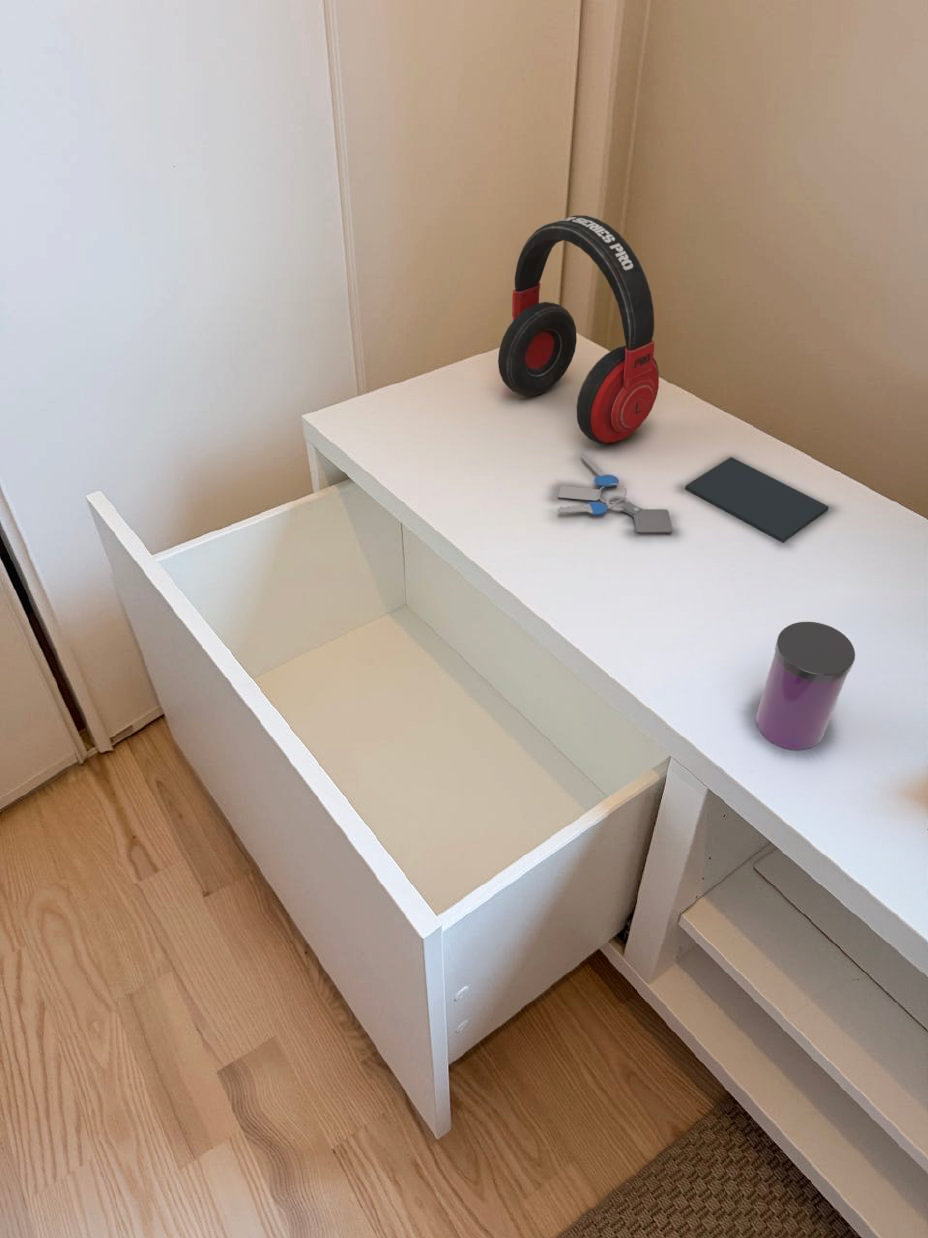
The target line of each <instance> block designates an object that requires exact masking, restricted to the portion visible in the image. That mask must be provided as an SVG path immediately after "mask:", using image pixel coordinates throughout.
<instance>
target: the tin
mask: <svg viewBox="0 0 928 1238" xmlns="http://www.w3.org/2000/svg"><path fill="white" fill-rule="evenodd" d="M855 659H856V651H855V648H854V645H853V644H852V642H851V640H850V639H849V637H847V636H846V635H845V634H844V633H843V632H841V631H840V630H838V629H836V628H835V627H832V626H830V625H827V624H825V623H821V622H816V621H799V622H795V623H792V624H789V625H787V626H786V627H784V628H783V629H782V630H781V631H780V633H779V634H778V636H777V638H776V641H775V646H774V655H773V657H772V661H771V665H770V667H769V671H768V675H767V677H766V681H765V685H764V688H763V691H762V695H761V698H760V701H759V705H758V708H757V711H756V715H755V719H756V720H755V722H756V726H757V728H758V730H759V732H760V733H761V735H762V736H763V737H765V739H766V740H768V741H769V742H771V743H772V744H774V745H776V746H778V747H780V748H783V749H787V750H792V751H802V750H808V749H811V748H813V747H815V746H817V745H819V743H820V742H821V741H822V740H823V738H824V735H825V733H826V730H827V728H828V725H829V723H830V720H831V718H832V715H833V713H834V709H835V707H836V704H837V702H838V699H839V696H840V694H841V691H842V689H843V686H844V684H845V681H846V678H847V676H848V674H849V673H850V672H851V670H852V668H853V665H854V662H855Z"/></svg>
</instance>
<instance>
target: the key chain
mask: <svg viewBox="0 0 928 1238" xmlns="http://www.w3.org/2000/svg"><path fill="white" fill-rule="evenodd" d="M579 456H580V457H581V458H582V459H583V460H584V462H585V463H586V464H587V465H588V466H589V467H590V468H591V470H592V471H593V472H595V473H596V475H597V476H595V477H594V479H593V482H594V483H595V484H596V485H597V486H601V487H600V488H599V489H598V488H590V487H589V488H587V487H578V486H577V487H575V486H566V485H561V486H560V488H559V492H558V495H557V498H562V499H573V500H582V501H589V502H586V503H587V504H581V505H572V506H570V505H568V506H565V507H564V506H560V507H558V508H557V512H558V513H559V514H568V513H589V514H591V515H595V516H599V515H604V514H605V513H606V512H608V510H611V511H613V512H624V513H626V514H629V515H630V516H631V517H633V522H634V526H635V527H634V528H635V531H636V532H637V533H672V532H673V530H674V529H673V525H672V519H671V516H670V511H669V510H668V509H666V508H654V509H653V508H650V509H649V508H646V509H645V508H642V507H639V506H636V504H634V503H632V502H631V501H630V500H629V499H628V498H627V497H626V496H627V495H628V491H627V488H626V487H625V486H624V485H622V484H620V483H619V482H620V480H619V478H618V477H617V476H615V475H614V474H605V473H604V472H603V470H601V468H599V467H598V466H597V464H596V463H595V462H593V461H592V459H590V458H589V457H588V456H587V455H586V454H585V453H580V454H579ZM614 486H620V487H621V488H623V490H624V495H619V494H614V495H611V496H608V498H606V500H604V499H603V498H602V497H601V495H602V489H604V488H605V487H606V488H607V487H608V488H609V487H614ZM599 500H600V501H601V502H600V501H599ZM613 500H616V501H613ZM621 501H624V503H623V504H622V505H621V506H619V507H616V503H620V502H621Z"/></svg>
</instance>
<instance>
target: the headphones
mask: <svg viewBox="0 0 928 1238" xmlns="http://www.w3.org/2000/svg"><path fill="white" fill-rule="evenodd" d="M561 242H568V243H571V244H572V245H574V246H575V247H578V248H579V249H580V250H582V251H583V253H585V254H586V255H588V256H589V258H590V259H591V260H592V261H593V263H594V264H596V266H597V267H598V269H599V270H600V272H601V273H602V274H603V276H604V277H605V279H606V281H607V284H608V285H609V287H610V289H611V291H612V293H613V295H614V297H615V300H616V302H617V306H618V310H619V315H620V318H621V325H622V331H623V335H624V342H625V345H622V346H619V347H616V348H614V349H613V350H610V351H609V352H607V353H605V354H604V356H602V357H601V358H600V359H598V360H597V362H596V363H595V364H594V365H593V366H592V367H591V369H590V371H588V372H587V375H586V377H585V378H584V380H583V382H582V384H581V387H580V390H579V392H578V395H577V401H576V421H577V424H578V428H579V430H580V431H581V432H582V433H583V435H584V436H585V437H586V438H587V439H588V440H590V441H592V442H595V443H597V444H599V445H611V444H614V443H618V442H620V441H622V440H624V439H626V438H627V437H629V436H630V435H632V434H633V433H634V432H635V431H637V430H638V428H640V427H641V426H642V425H643V423H644V422H645V420H646V419H647V418H648V416H649V415H650V413H651V412H652V410H653V408H654V405H655V402H656V400H657V398H658V397H657V396H658V393H659V388H660V371H659V366H658V364H657V361H656V359H655V357H654V355H655V341H654V339H653V338H654V333H655V309H654V303H653V297H652V292H651V288H650V285H649V282H648V278H647V275H646V273H645V271H644V268H643V267H642V265H641V262H640V260H639V258H638V257H637V256H636V253H635V252H634V251H633V249H632V247H631V246H630V245H629V244H628V242H627V241H626V240H625V239H624V237H623V236H622V235H621V234H620V233H619V232H618V231H617V230H615V229H614V228H613V227H612V226H610V225H609V224H608V223H606V222H604V221H602V220H600V219H598V218H595V217H592V216H590V215H589V216H588V215H585V214H584V215H582V214H581V215H580V214H576V215H572V216H568V217H565V218H561V219H559V220H556V221H553V222H550V223H547V224H544V225H543V226H541V227H539V228H538V229H536V230H535V231H533V233H532V235H530V236H529V237H528V239H527V241H526V242H525V244H524V245H523V246H522V249H521V251H520V254H519V256H518V260H517V263H516V268H515V275H514V289H513V290H512V302H511V304H512V305H511V317H512V322H511V323H510V324H509V326H508V327H507V328H506V331H505V333H504V334H503V336H502V339H501V343H500V346H499V350H498V356H497V357H498V359H497V364H498V365H497V366H498V371H499V372H498V373H499V375H500V378H501V380H502V382H503V383H504V385H505V386H506V387H507V388H508V389H509V390H510V391H511V392H514V393H516V394H518V395H521V396H522V397H524V396H525V397H533V396H536V395H540V394H542V393H545V392H546V391H548V390H549V389H551V388H553V386H555V385H556V384H557V383H558V382H559V381H560V380H561V379H562V377H563V376H564V375H565V374H566V372H567V371H568V369H569V367H570V365H571V363H572V361H573V358H574V356H575V352H576V348H577V341H578V339H577V327H576V324H575V319H574V317H573V316H572V315H571V313H570V312H569V311H568V310H567V309H566V308H564V307H563V306H561V305H559V304H558V303H555V302H549V301H543V302H540V290H541V282H540V281H541V280H542V276H543V274H544V270H545V268H546V264H547V261H548V259H549V256H550V255H551V252H552V250H553V248H554V247H555V246H556V244H557V243H561Z"/></svg>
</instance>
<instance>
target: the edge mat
mask: <svg viewBox="0 0 928 1238" xmlns="http://www.w3.org/2000/svg"><path fill="white" fill-rule="evenodd" d="M684 489H685V490H686V491H688V492H689V493H692V494H693V495H695V496H697V497H699V498H700V499H703V500H704V501H706V502H707V503H710V504H712V505H714V506H715V507H717V508H719V509H720V510H723V511H724V512H726V513H728V514H730V515H731V516H733V517H735V518H737V519H739V520H741V521H743V522H744V523H746V524H748V525H750V526H752V527H754V528H755V529H757V530H759V531H761V532H763V533H764V534H766V535H768V536H770V537H772V538H774V539H776V540H777V541H779V542H781V543H784V542H786V541H787V540H789V539H790V538H791V537H793V536H794V535H796V534H797V533H798V532H800V531H801V530H802V529H804V528H805V527H807V526H808V525H809V524H810V523H812V522H813V521H815V520H817V518H819V517H820V516H822V515H823V514H825V513H826V512H827V511H829V507H830V506H828V505H827V504H825V503H823V502H822V501H819V500H817V499H815V498H813V497H811V496H809V495H807V494H805V493H803V492H802V491H799V490H798V489H796V488H793V487H791V486H789V485H788V484H785V483H783V482H781V481H779V480H778V479H776V478H774V477H771V476H769V475H767V474H765V473H763V472H761V471H759V470H757V469H756V468H754V467H752V466H750V465H748V464H746V463H744V462H742V461H740V460H737V459H736V458H734V457H732V456H730V457H729V458H727V459H725V460H724V461H722V462H721V463H719V464H718V465H716V466H714V467H713V468H710V469H709V470H708V471H707V472H704V473H703V474H701V475H700V476H698V477H697V478H695V479H693V480H692V481H690V482H689V483H687V484H686V485H685V486H684Z"/></svg>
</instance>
